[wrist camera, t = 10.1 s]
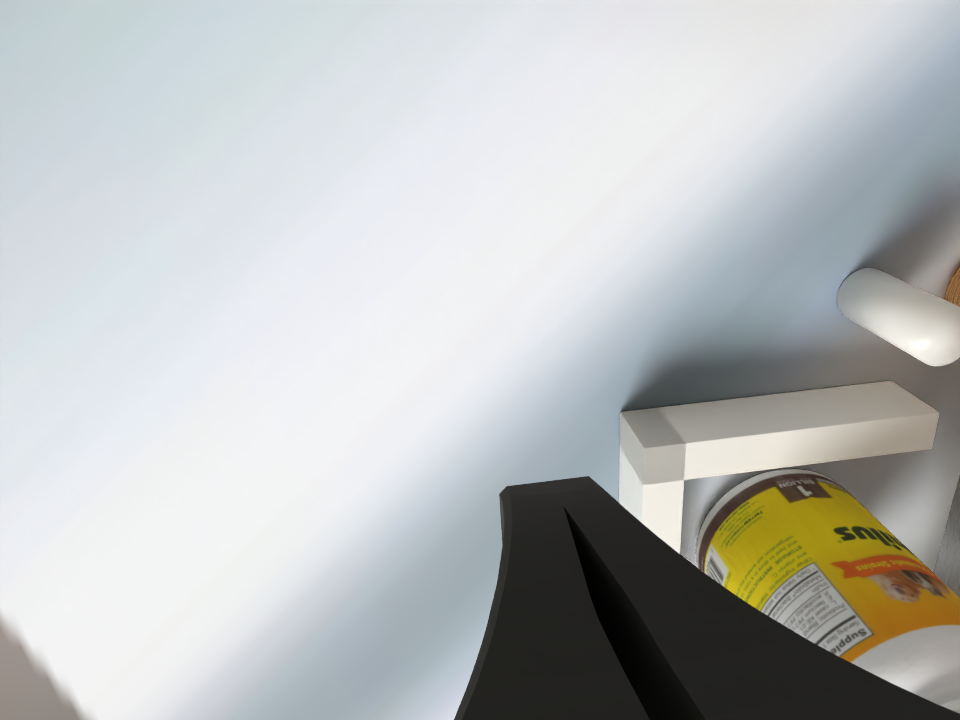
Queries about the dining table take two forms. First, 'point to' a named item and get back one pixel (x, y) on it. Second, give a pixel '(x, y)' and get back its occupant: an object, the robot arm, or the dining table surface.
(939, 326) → the post
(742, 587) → the supplement bottle
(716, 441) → the socket
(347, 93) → the dining table surface
